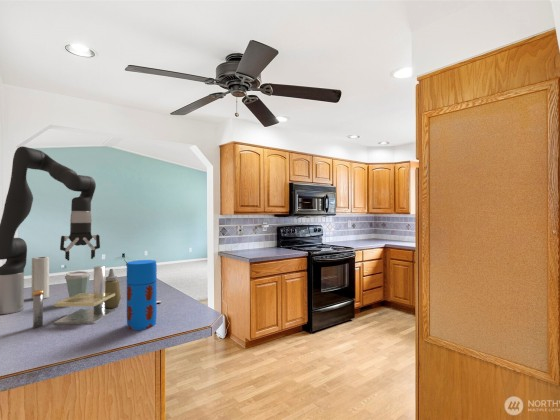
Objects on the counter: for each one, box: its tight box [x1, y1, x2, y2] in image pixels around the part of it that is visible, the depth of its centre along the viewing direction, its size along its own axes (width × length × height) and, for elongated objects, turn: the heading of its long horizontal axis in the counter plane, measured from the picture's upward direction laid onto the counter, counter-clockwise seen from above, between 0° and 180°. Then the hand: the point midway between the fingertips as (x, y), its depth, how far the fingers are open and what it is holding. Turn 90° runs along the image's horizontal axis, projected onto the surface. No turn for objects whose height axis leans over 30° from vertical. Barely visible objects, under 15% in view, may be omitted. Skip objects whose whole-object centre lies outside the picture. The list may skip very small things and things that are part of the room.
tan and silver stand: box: [53, 265, 116, 325], centre depth 130 cm, size 16×16×21 cm
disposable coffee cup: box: [64, 270, 91, 302], centre depth 151 cm, size 11×11×15 cm
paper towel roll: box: [31, 256, 50, 300], centre depth 160 cm, size 7×6×21 cm
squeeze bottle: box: [105, 268, 122, 309], centre depth 144 cm, size 8×8×18 cm
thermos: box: [126, 259, 158, 331], centre depth 120 cm, size 11×11×25 cm
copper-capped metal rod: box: [31, 290, 44, 329], centre depth 118 cm, size 3×3×14 cm
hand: (80, 259), depth 130 cm, fingers open, 8 cm apart
